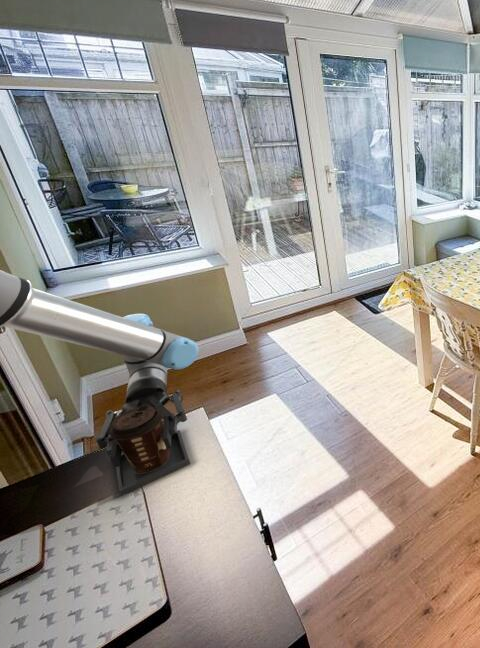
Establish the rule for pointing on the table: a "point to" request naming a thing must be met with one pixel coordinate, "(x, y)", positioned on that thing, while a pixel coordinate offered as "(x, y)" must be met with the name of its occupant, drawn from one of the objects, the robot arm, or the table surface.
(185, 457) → the coaster pad
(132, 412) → the coffee cup
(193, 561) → the table surface
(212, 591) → the table surface
